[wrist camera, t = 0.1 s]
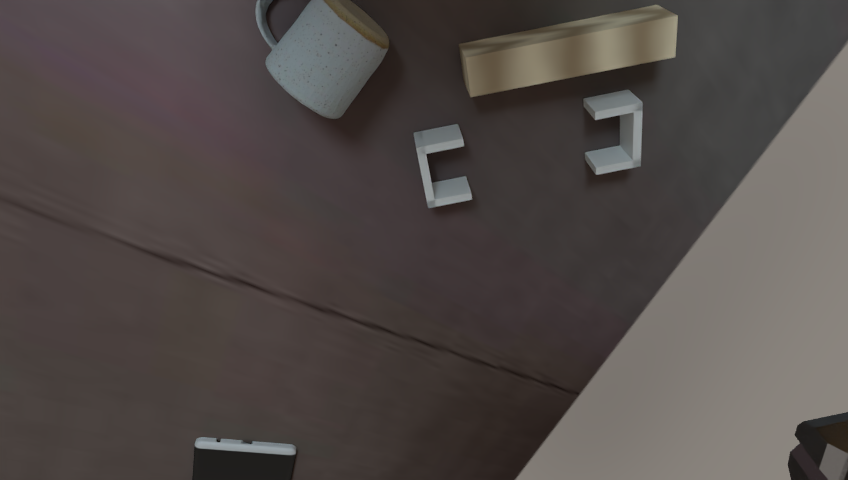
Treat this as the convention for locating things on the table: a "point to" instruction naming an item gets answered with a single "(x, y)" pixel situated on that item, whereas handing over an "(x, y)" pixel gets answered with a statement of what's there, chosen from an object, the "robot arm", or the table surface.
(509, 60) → the tan wooden beam
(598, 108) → the cap
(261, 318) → the table surface
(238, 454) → the smartphone
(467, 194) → the cap
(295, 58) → the ceramic mug
